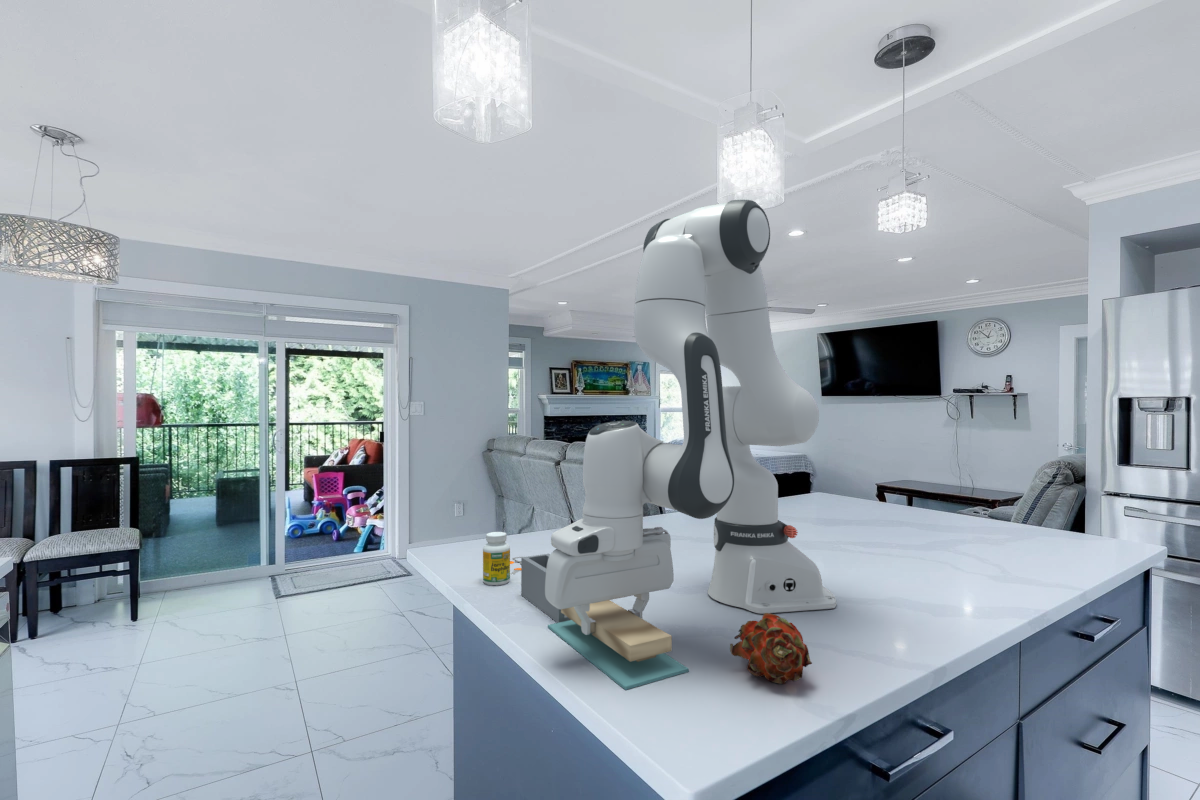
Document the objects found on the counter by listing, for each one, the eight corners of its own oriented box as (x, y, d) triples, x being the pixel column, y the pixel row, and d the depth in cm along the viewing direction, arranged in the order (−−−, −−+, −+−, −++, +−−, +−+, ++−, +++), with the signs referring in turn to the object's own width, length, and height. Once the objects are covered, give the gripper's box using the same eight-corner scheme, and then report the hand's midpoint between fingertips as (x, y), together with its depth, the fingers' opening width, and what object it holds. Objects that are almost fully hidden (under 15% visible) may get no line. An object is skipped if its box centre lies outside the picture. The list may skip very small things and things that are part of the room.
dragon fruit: (798, 714, 69) (743, 683, 80) (840, 662, 72) (781, 639, 83) (757, 659, 68) (707, 636, 79) (801, 609, 71) (747, 593, 82)
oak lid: (671, 656, 77) (671, 635, 77) (630, 667, 73) (630, 645, 73) (597, 610, 94) (597, 593, 94) (561, 617, 91) (561, 599, 91)
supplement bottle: (503, 576, 118) (503, 529, 118) (514, 583, 114) (514, 534, 114) (478, 580, 115) (478, 532, 115) (489, 587, 111) (489, 538, 111)
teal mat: (688, 671, 76) (688, 668, 76) (625, 690, 71) (625, 686, 71) (602, 616, 96) (602, 613, 96) (547, 627, 91) (547, 624, 91)
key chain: (498, 560, 131) (498, 557, 131) (530, 557, 134) (530, 554, 134) (508, 576, 119) (508, 572, 119) (543, 573, 122) (543, 569, 122)
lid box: (589, 617, 96) (589, 575, 96) (558, 623, 93) (558, 580, 93) (548, 590, 109) (548, 553, 109) (521, 595, 107) (521, 557, 107)
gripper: (657, 521, 92) (657, 608, 91) (540, 535, 81) (539, 633, 81) (682, 529, 86) (682, 621, 86) (560, 545, 76) (559, 650, 76)
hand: (612, 627), depth 84 cm, fingers closed on oak lid, 6 cm apart
